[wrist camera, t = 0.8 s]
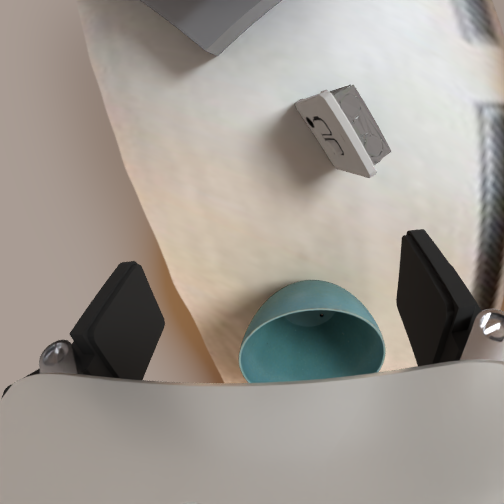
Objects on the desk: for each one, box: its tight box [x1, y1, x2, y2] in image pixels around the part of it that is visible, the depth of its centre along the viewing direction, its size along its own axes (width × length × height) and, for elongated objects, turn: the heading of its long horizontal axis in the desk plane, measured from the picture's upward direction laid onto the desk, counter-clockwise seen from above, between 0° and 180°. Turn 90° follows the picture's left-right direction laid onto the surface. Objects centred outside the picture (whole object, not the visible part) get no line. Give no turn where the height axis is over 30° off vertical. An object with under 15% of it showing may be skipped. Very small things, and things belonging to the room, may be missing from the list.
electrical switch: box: [295, 85, 391, 178], centre depth 30 cm, size 9×5×9 cm, turn 35°
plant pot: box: [239, 280, 385, 383], centre depth 41 cm, size 18×18×12 cm
